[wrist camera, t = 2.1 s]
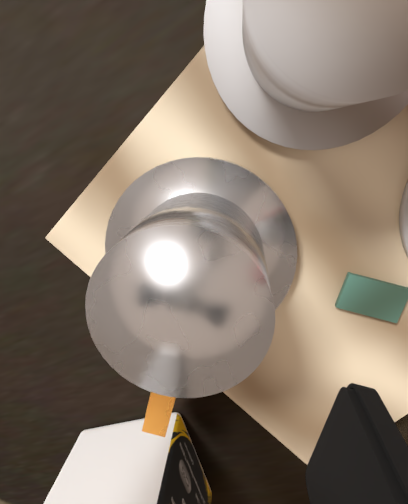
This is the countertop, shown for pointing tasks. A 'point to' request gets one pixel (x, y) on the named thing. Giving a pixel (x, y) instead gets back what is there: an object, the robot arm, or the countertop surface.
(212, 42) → the wooden board with knobs
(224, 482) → the countertop surface
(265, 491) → the countertop surface
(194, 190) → the silver rounded knobbed piece
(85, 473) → the medicine bottle
